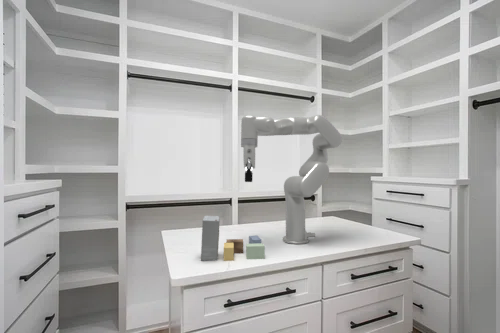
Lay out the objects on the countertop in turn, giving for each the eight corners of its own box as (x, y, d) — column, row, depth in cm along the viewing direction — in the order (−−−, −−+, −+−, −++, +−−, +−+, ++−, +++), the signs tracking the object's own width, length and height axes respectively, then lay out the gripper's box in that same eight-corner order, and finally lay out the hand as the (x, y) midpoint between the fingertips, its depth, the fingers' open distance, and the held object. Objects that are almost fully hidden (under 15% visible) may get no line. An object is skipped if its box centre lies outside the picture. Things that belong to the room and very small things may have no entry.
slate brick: (248, 246, 114) (248, 235, 114) (257, 246, 115) (257, 235, 115) (253, 251, 107) (252, 239, 108) (261, 251, 108) (261, 239, 108)
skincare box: (202, 254, 104) (202, 215, 104) (219, 253, 105) (220, 215, 105) (200, 261, 96) (200, 219, 96) (219, 260, 96) (219, 219, 96)
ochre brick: (224, 254, 103) (224, 242, 103) (233, 254, 104) (233, 242, 104) (223, 261, 96) (223, 247, 96) (233, 260, 97) (233, 247, 97)
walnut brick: (242, 250, 109) (242, 239, 109) (243, 253, 105) (243, 241, 105) (226, 251, 108) (226, 239, 108) (226, 254, 104) (226, 241, 105)
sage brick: (263, 255, 102) (263, 243, 102) (264, 258, 99) (264, 246, 99) (246, 256, 102) (246, 243, 102) (246, 259, 98) (246, 246, 98)
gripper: (258, 141, 106) (257, 182, 105) (256, 146, 123) (255, 181, 122) (240, 141, 105) (239, 182, 105) (241, 145, 123) (240, 180, 122)
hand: (248, 181), depth 114 cm, fingers open, 9 cm apart
